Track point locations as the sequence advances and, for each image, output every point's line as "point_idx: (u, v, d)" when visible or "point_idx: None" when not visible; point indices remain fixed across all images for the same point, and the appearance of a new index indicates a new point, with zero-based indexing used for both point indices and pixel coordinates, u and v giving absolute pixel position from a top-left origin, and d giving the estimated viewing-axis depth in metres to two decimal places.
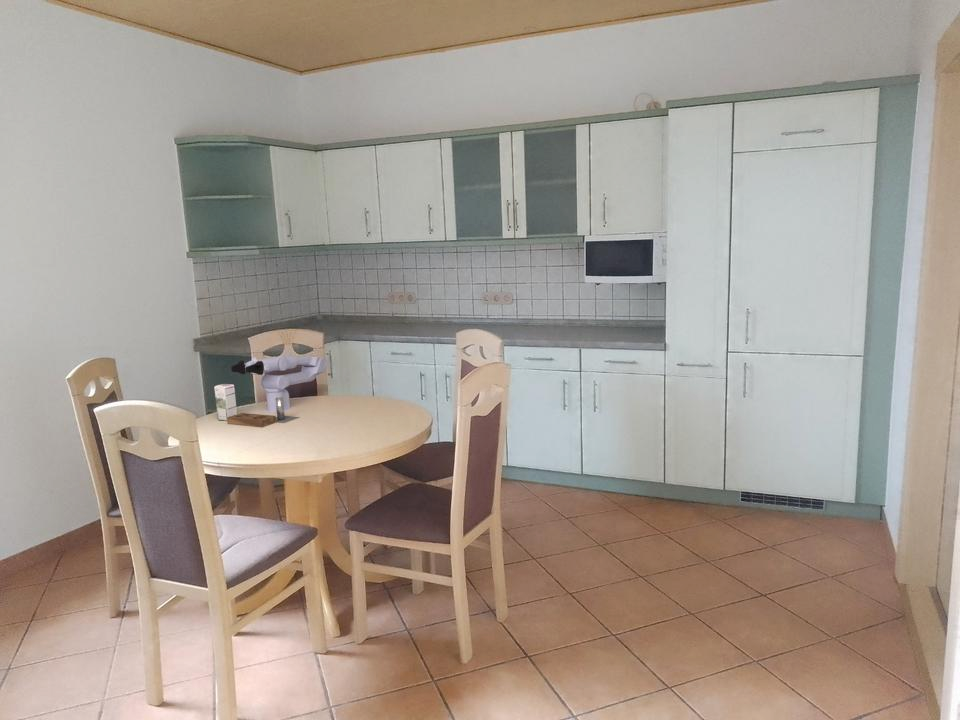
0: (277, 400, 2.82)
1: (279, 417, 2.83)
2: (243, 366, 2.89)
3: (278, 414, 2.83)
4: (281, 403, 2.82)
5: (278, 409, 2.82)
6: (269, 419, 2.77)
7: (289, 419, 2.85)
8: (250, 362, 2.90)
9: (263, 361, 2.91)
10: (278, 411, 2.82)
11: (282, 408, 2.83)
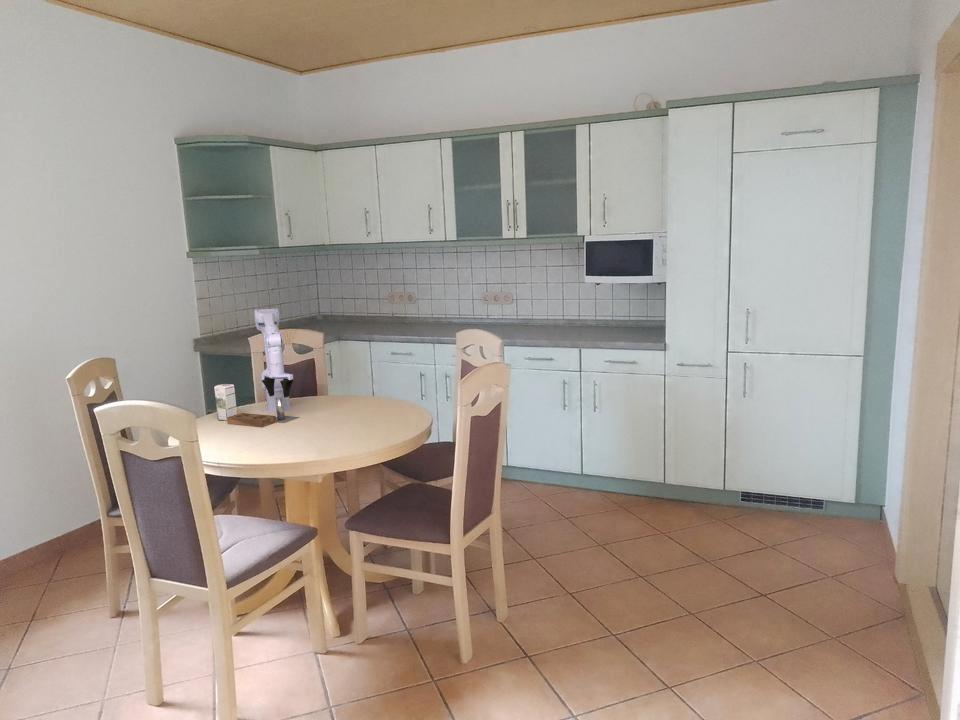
0: (277, 400, 2.82)
1: (279, 417, 2.83)
2: (269, 381, 2.83)
3: (278, 414, 2.83)
4: (281, 403, 2.82)
5: (278, 409, 2.82)
6: (269, 419, 2.77)
7: (289, 419, 2.85)
8: None
9: (276, 368, 2.78)
10: (278, 411, 2.82)
11: (282, 408, 2.83)
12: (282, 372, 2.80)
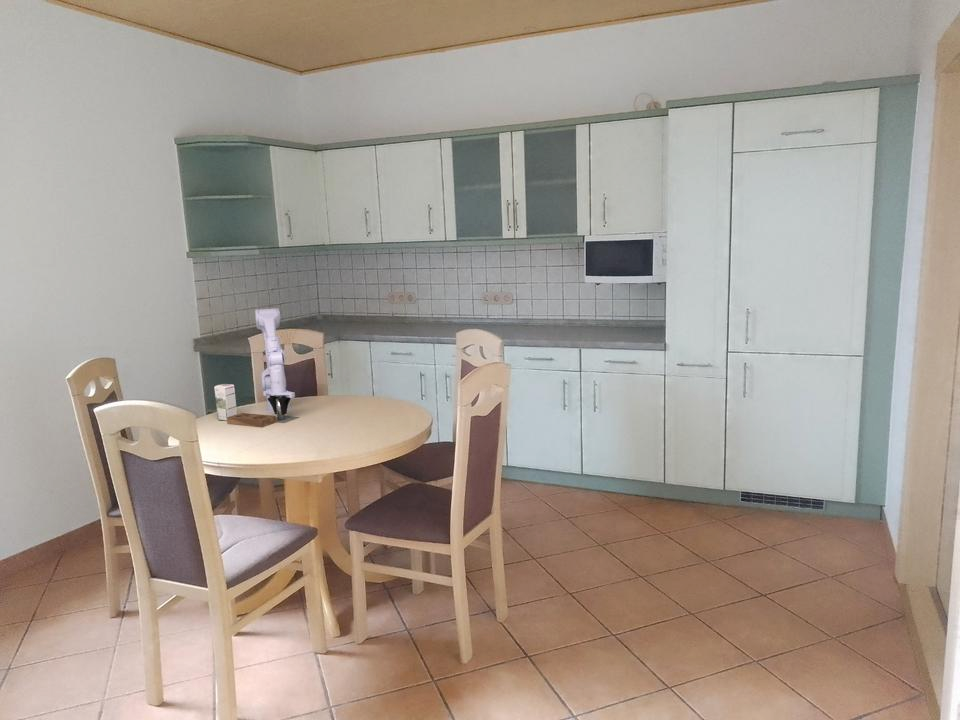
0: (277, 400, 2.82)
1: (279, 417, 2.83)
2: None
3: (278, 414, 2.83)
4: None
5: (278, 409, 2.82)
6: (269, 419, 2.77)
7: (289, 419, 2.85)
8: None
9: (278, 386, 2.79)
10: (278, 411, 2.82)
11: None
12: (284, 390, 2.81)
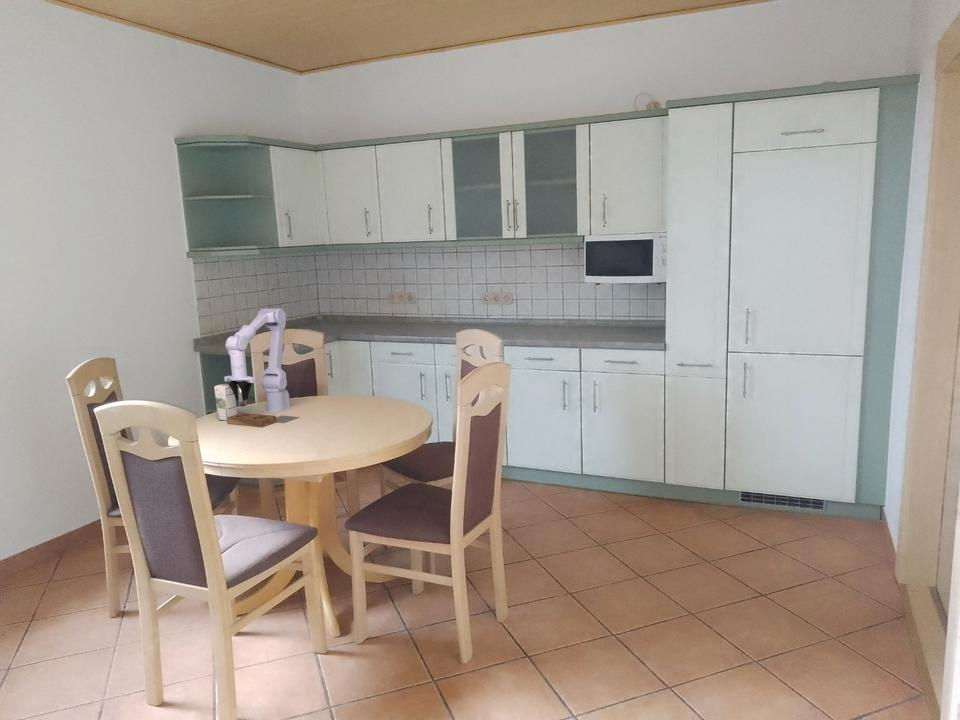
0: (238, 386, 2.79)
1: (240, 403, 2.80)
2: (236, 384, 2.80)
3: (239, 400, 2.80)
4: None
5: (239, 395, 2.80)
6: (269, 419, 2.77)
7: (289, 419, 2.85)
8: None
9: (238, 371, 2.77)
10: (239, 397, 2.80)
11: None
12: (244, 375, 2.78)
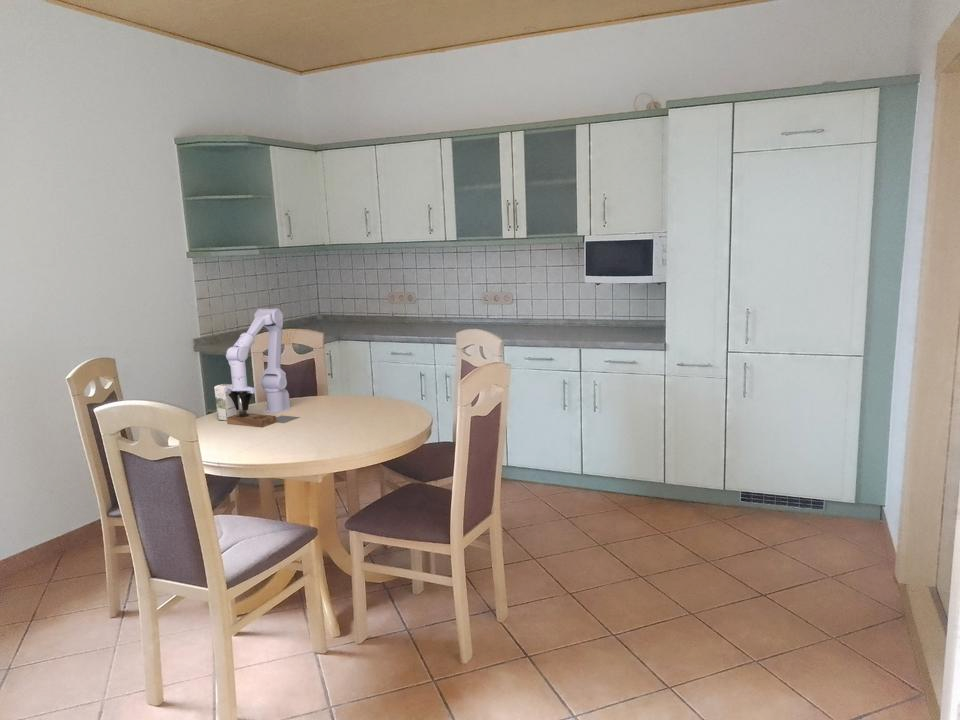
0: (238, 396, 2.80)
1: (240, 413, 2.81)
2: (236, 394, 2.81)
3: (239, 410, 2.81)
4: None
5: (239, 405, 2.80)
6: (269, 419, 2.77)
7: (289, 419, 2.85)
8: None
9: (239, 382, 2.77)
10: (239, 407, 2.81)
11: None
12: (245, 385, 2.79)
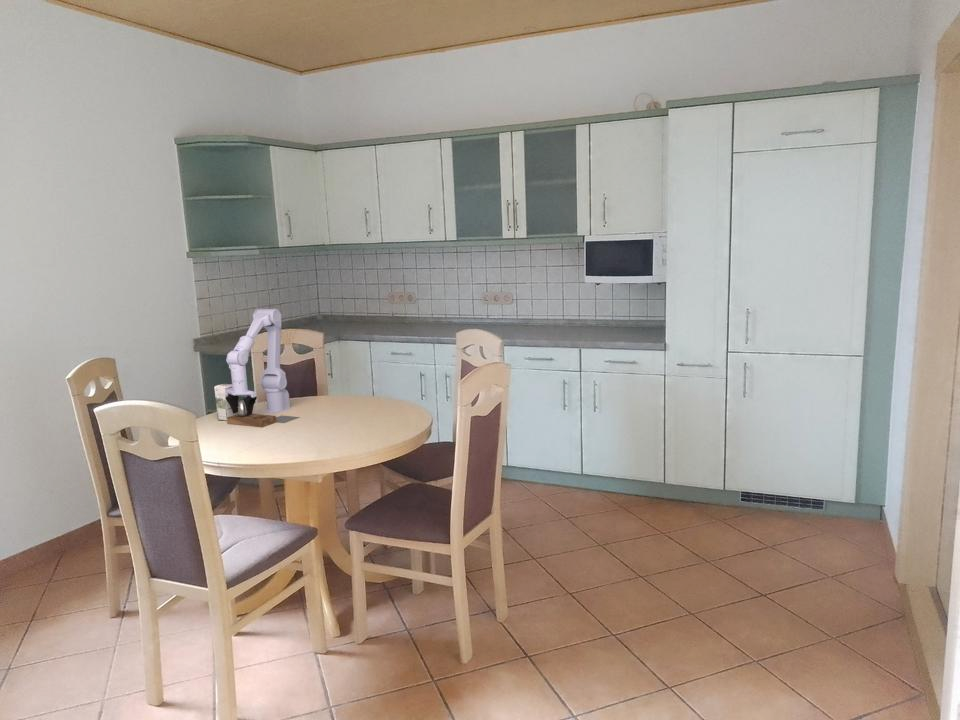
0: (239, 403, 2.80)
1: None
2: (233, 398, 2.82)
3: None
4: (243, 406, 2.81)
5: (240, 412, 2.81)
6: (269, 419, 2.77)
7: (289, 419, 2.85)
8: None
9: (239, 386, 2.77)
10: (240, 414, 2.81)
11: (244, 411, 2.81)
12: (245, 389, 2.79)
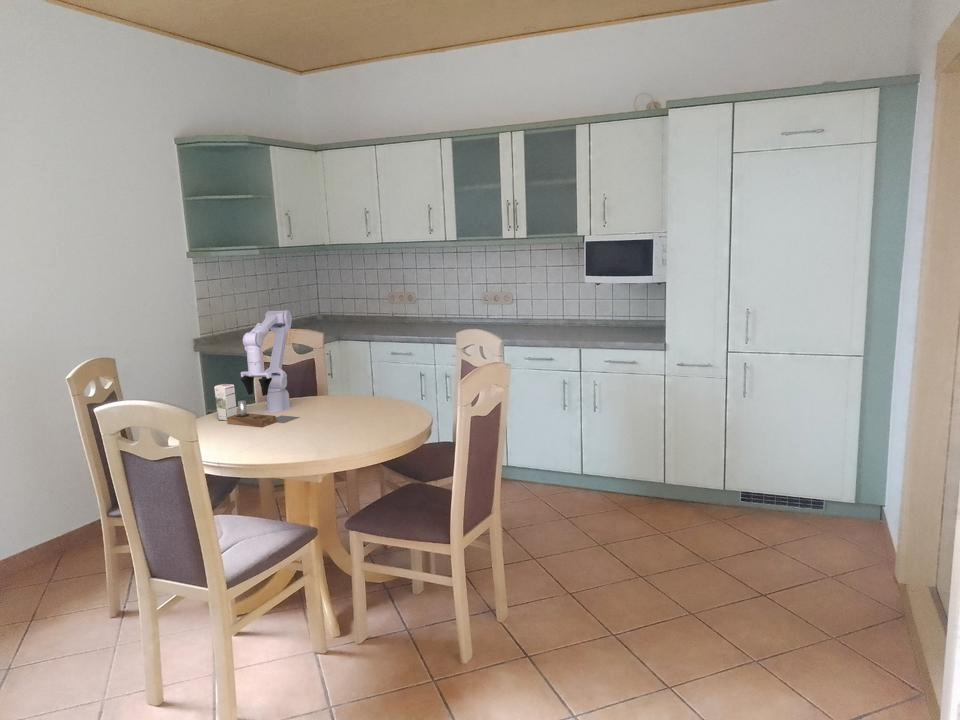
0: (239, 403, 2.80)
1: None
2: (248, 379, 2.86)
3: None
4: (243, 406, 2.81)
5: (240, 412, 2.81)
6: (269, 419, 2.77)
7: (289, 419, 2.85)
8: None
9: (255, 367, 2.81)
10: (240, 414, 2.81)
11: (244, 411, 2.81)
12: (261, 370, 2.83)
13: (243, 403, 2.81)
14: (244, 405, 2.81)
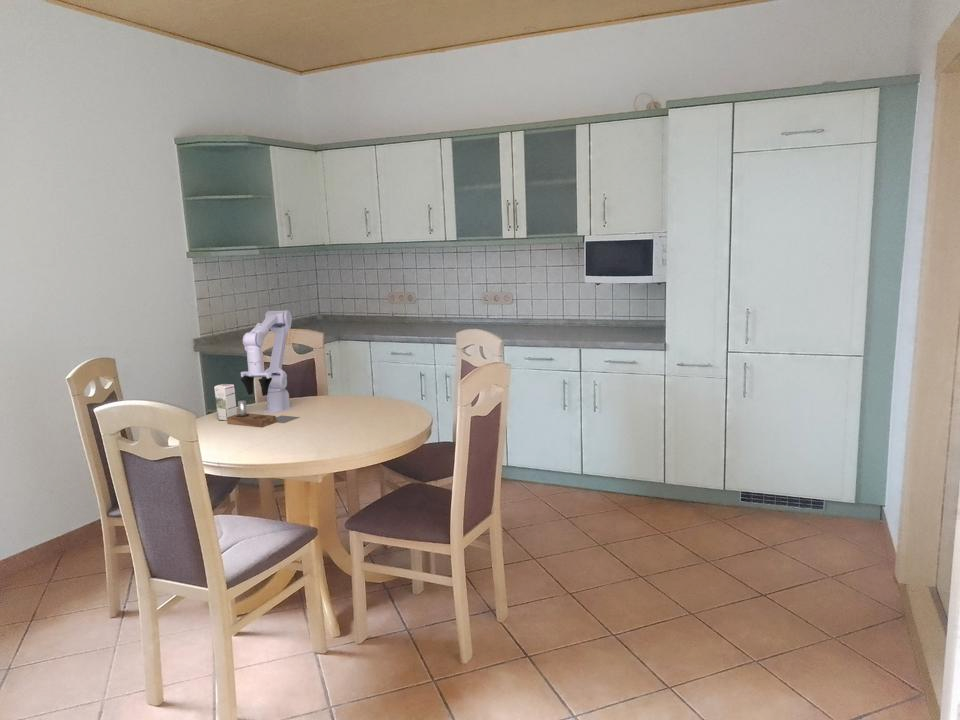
0: (239, 403, 2.80)
1: None
2: (248, 379, 2.86)
3: None
4: (243, 406, 2.81)
5: (240, 412, 2.81)
6: (269, 419, 2.77)
7: (289, 419, 2.85)
8: None
9: (255, 367, 2.81)
10: (240, 414, 2.81)
11: (244, 411, 2.81)
12: (261, 370, 2.83)
13: (243, 403, 2.81)
14: (244, 405, 2.81)
